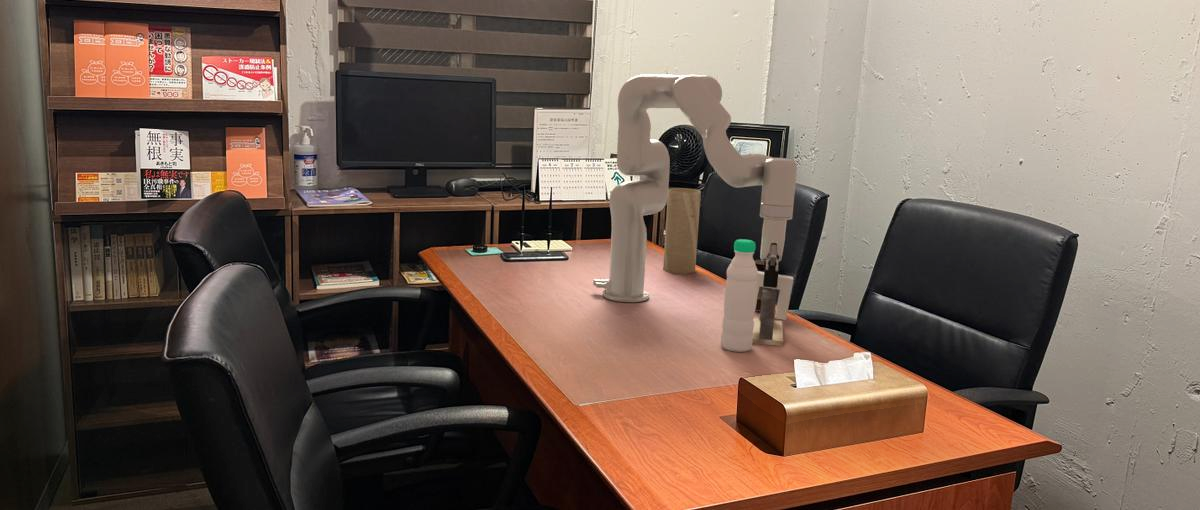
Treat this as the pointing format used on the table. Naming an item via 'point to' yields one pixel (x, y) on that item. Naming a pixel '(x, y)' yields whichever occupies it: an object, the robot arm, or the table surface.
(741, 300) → the water bottle
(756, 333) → the hook stand
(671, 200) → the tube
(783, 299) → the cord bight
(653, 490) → the table surface
